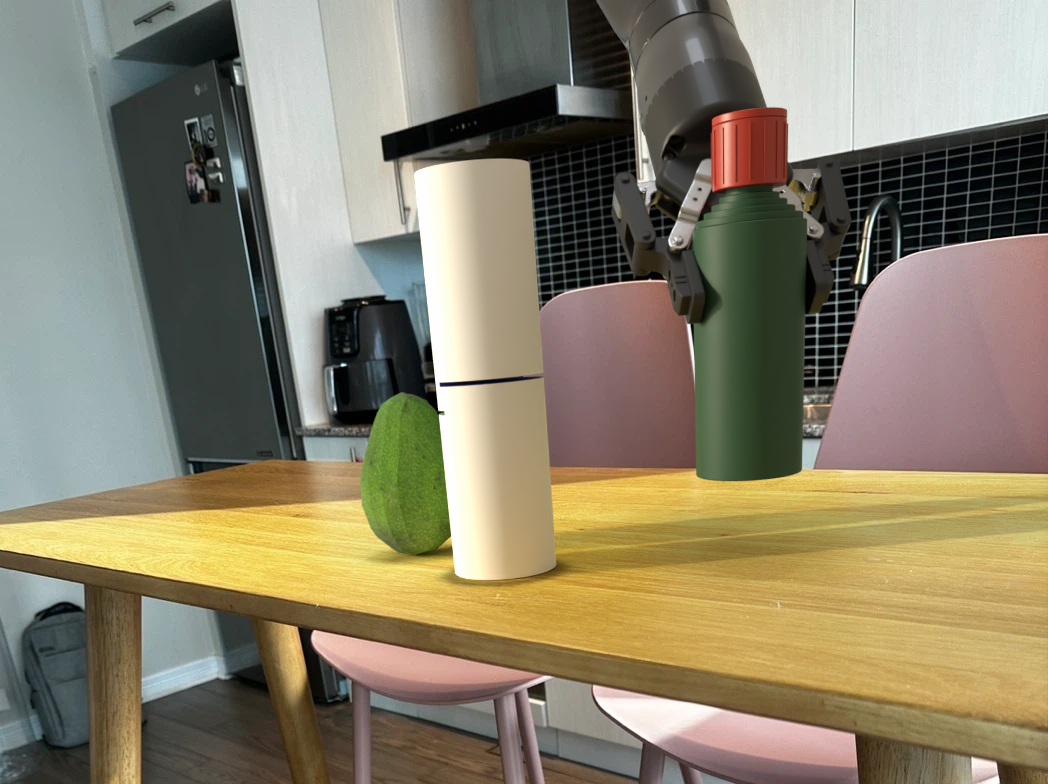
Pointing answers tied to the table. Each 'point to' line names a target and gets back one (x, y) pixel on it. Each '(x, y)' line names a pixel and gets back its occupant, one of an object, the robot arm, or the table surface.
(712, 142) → the cap
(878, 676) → the table surface
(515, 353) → the cylindrical container
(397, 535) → the avocado
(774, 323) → the bottle
